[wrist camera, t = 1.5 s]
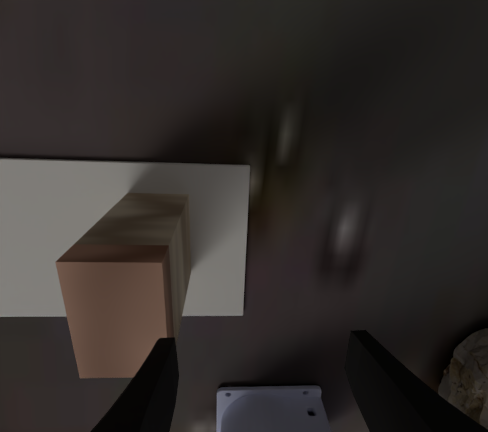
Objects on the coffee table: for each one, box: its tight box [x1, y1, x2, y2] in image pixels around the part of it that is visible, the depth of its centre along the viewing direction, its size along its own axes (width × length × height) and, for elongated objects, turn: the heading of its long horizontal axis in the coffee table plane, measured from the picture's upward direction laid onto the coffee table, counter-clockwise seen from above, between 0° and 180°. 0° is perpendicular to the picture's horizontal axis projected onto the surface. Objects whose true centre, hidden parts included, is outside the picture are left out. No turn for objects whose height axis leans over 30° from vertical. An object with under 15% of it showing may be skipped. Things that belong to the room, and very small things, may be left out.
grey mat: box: [0, 158, 250, 317], centre depth 21 cm, size 20×12×1 cm, turn 88°
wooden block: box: [55, 193, 191, 378], centre depth 17 cm, size 4×6×9 cm, turn 178°
